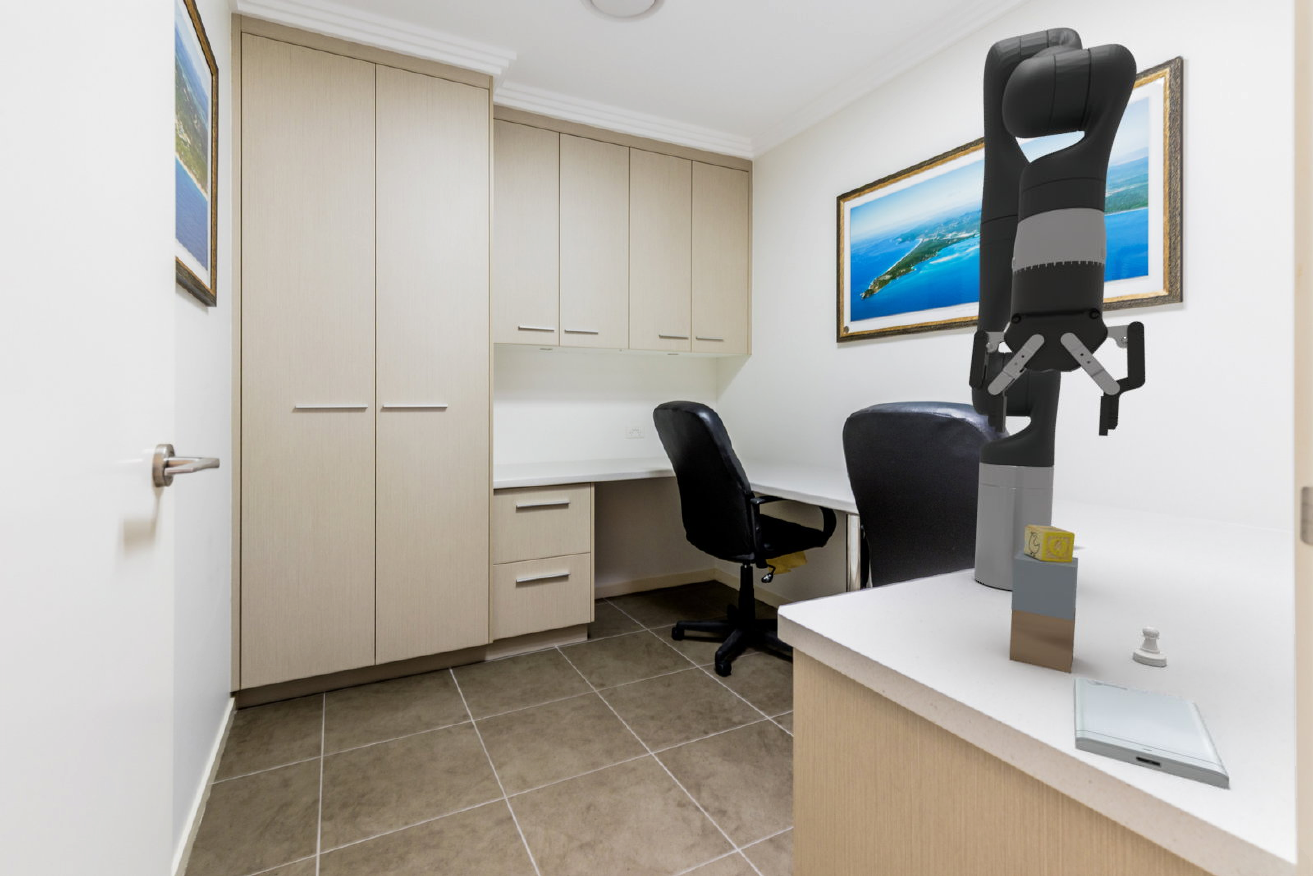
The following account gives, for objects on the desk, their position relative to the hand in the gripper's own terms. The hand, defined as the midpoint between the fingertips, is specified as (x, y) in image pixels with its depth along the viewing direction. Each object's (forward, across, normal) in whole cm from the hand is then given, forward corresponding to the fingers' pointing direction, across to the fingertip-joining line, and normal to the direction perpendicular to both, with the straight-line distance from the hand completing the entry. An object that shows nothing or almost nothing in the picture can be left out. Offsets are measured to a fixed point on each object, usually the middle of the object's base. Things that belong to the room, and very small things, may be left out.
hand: (1049, 434), depth 60 cm
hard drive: (+23, -8, +12) cm, 27 cm away
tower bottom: (+22, 0, 0) cm, 22 cm away
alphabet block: (+12, 0, 0) cm, 12 cm away
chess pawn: (+22, -9, -6) cm, 25 cm away
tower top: (+17, 0, 0) cm, 17 cm away
